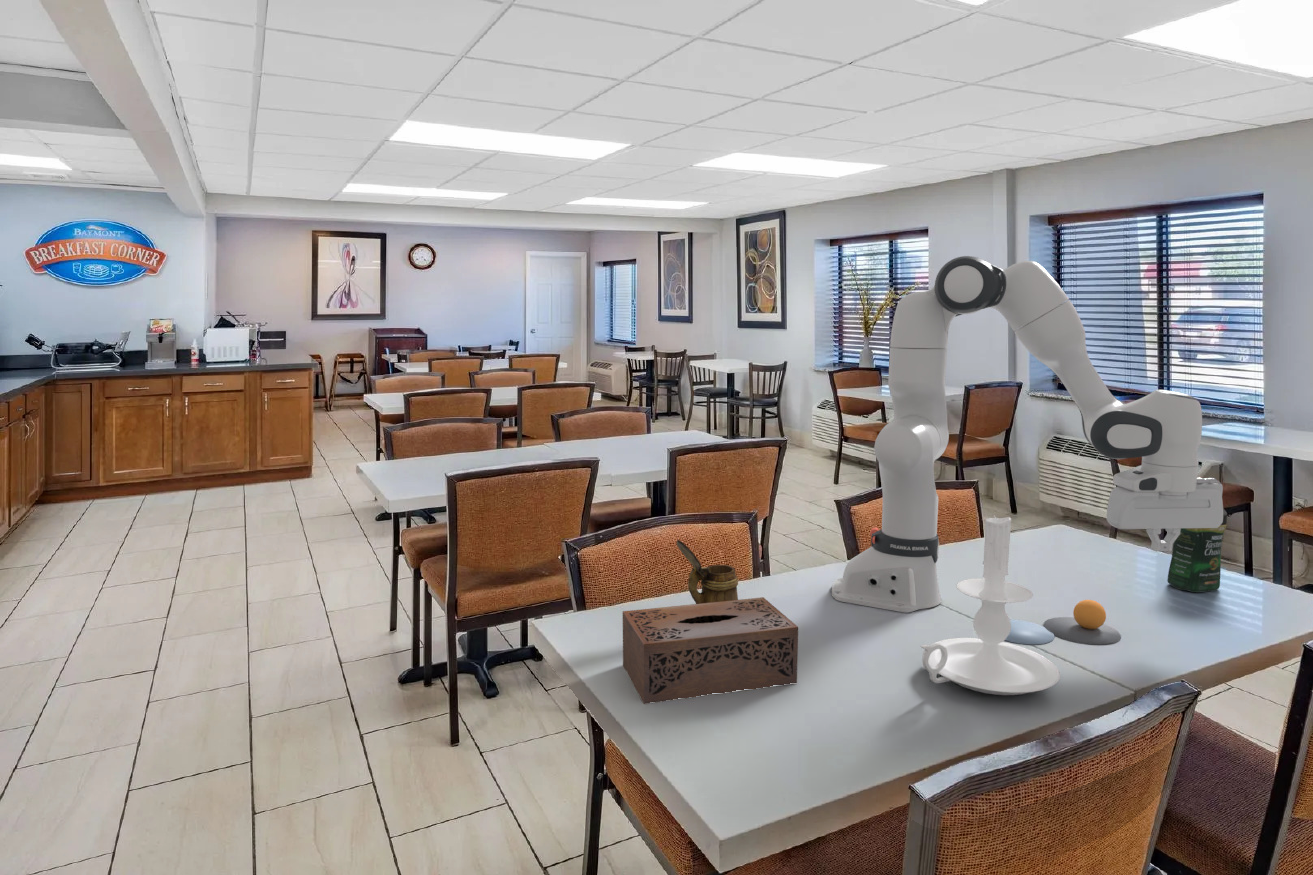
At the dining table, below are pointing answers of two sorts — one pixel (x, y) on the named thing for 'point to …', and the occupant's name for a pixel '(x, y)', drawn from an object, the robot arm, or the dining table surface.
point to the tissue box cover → (708, 648)
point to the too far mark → (1028, 633)
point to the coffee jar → (1197, 558)
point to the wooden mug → (710, 580)
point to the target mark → (1081, 632)
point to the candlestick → (991, 632)
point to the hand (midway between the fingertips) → (1161, 550)
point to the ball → (1089, 614)
